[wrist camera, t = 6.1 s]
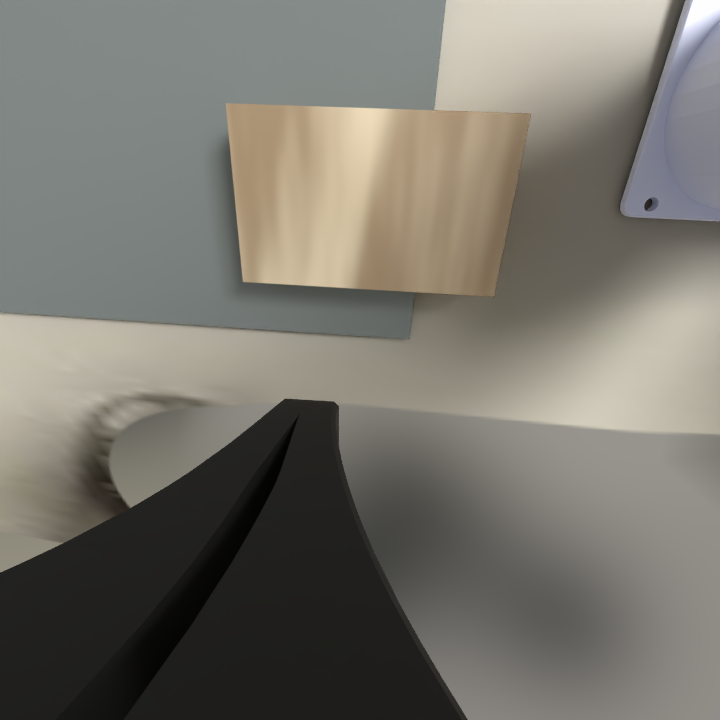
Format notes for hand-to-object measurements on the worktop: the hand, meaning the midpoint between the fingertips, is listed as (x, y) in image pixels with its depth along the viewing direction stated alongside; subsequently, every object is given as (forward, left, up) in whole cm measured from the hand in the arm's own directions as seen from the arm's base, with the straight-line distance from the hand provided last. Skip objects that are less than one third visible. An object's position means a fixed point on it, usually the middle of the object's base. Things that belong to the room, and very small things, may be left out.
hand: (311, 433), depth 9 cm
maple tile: (+4, -5, -8) cm, 10 cm away
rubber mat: (+8, -7, -10) cm, 15 cm away
